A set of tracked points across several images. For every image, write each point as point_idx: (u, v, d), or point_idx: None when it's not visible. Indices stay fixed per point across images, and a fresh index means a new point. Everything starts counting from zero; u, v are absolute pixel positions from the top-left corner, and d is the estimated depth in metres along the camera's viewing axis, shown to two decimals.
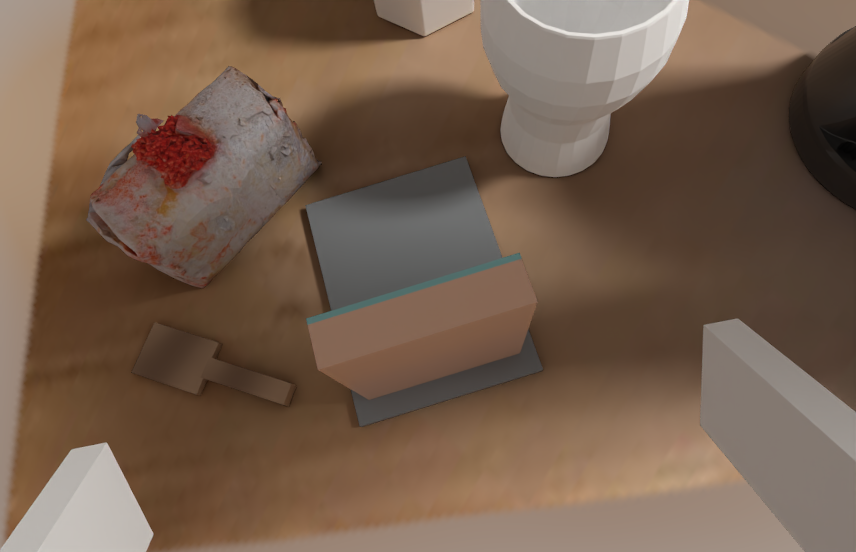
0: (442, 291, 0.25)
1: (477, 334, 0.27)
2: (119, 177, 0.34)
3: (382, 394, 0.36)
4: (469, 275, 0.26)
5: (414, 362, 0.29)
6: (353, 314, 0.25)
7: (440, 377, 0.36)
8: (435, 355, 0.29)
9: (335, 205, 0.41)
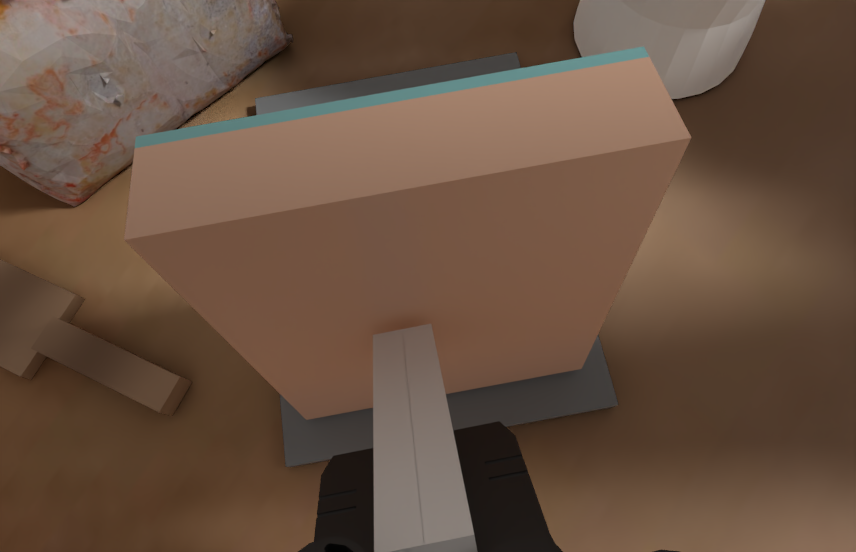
0: (457, 105, 0.11)
1: (524, 248, 0.12)
2: None
3: (330, 410, 0.20)
4: (524, 81, 0.11)
5: (383, 315, 0.14)
6: (243, 135, 0.11)
7: None
8: (428, 305, 0.14)
9: (302, 103, 0.26)
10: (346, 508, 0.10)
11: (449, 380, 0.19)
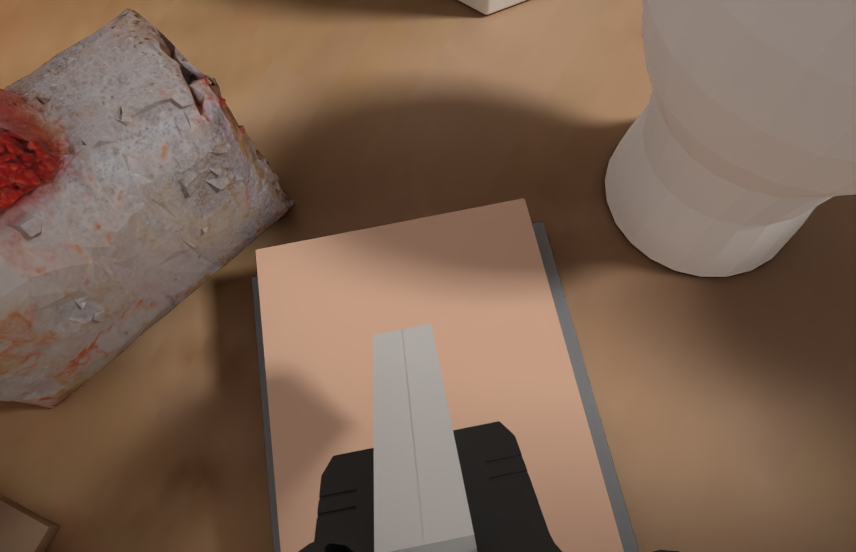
0: None
1: (465, 281, 0.20)
2: None
3: None
4: None
5: None
6: None
7: None
8: None
9: None
10: (346, 508, 0.10)
11: None
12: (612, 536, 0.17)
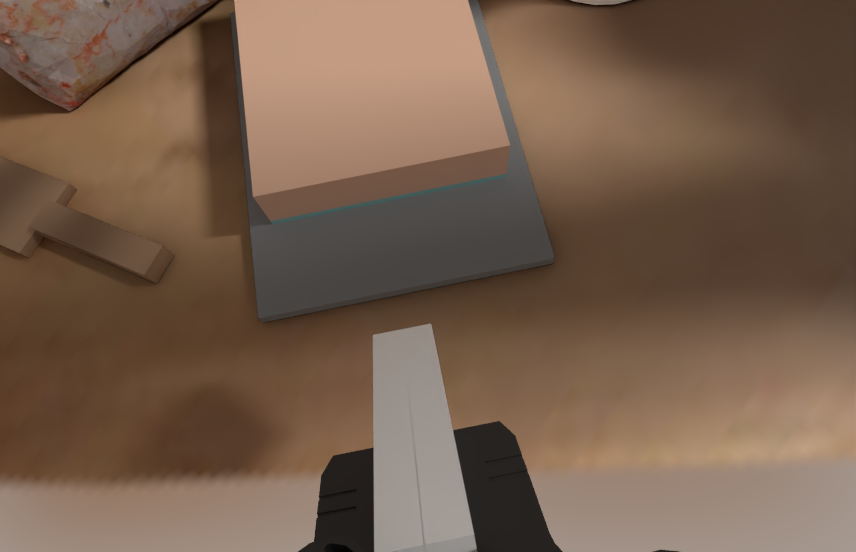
0: None
1: None
2: None
3: (276, 180, 0.22)
4: None
5: (327, 32, 0.24)
6: None
7: (374, 169, 0.22)
8: (353, 25, 0.24)
9: None
10: (346, 508, 0.10)
11: (382, 138, 0.22)
12: (501, 134, 0.22)
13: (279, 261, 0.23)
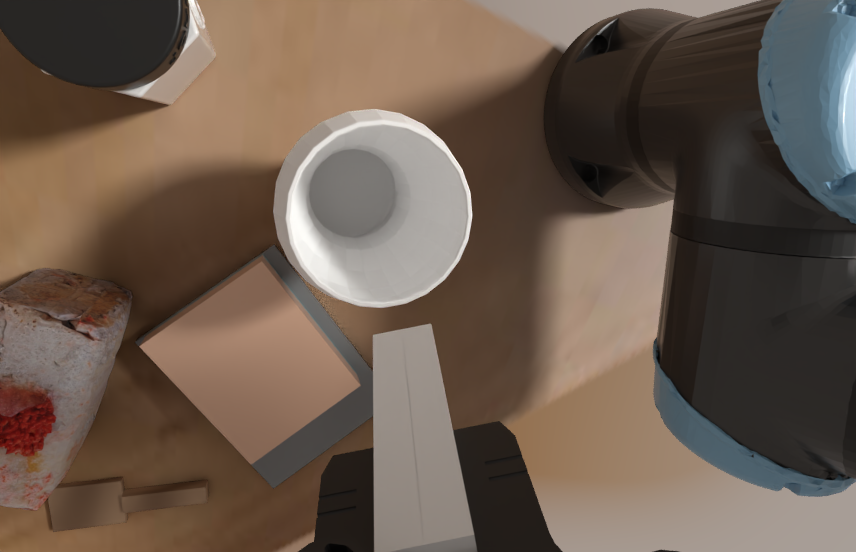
0: (217, 286, 0.41)
1: (253, 314, 0.40)
2: None
3: (257, 452, 0.43)
4: (235, 275, 0.41)
5: (231, 364, 0.41)
6: (170, 319, 0.41)
7: (302, 425, 0.43)
8: (244, 353, 0.41)
9: None
10: (346, 508, 0.10)
11: (297, 409, 0.43)
12: (354, 382, 0.43)
13: (267, 462, 0.46)
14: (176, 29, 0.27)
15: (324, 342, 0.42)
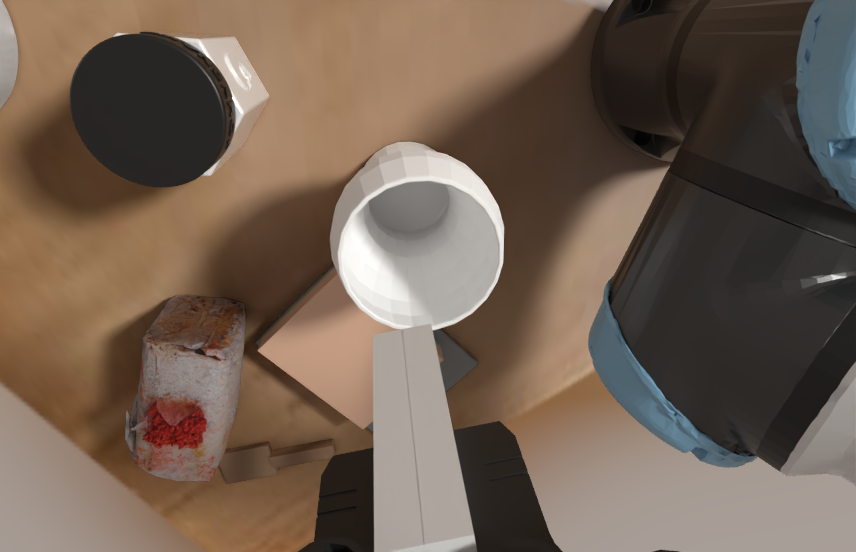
0: (309, 293, 0.47)
1: (342, 314, 0.47)
2: (148, 451, 0.44)
3: (366, 420, 0.51)
4: (322, 280, 0.48)
5: (332, 355, 0.48)
6: (277, 323, 0.48)
7: None
8: (340, 346, 0.48)
9: None
10: (346, 508, 0.10)
11: None
12: None
13: None
14: (223, 126, 0.31)
15: None
